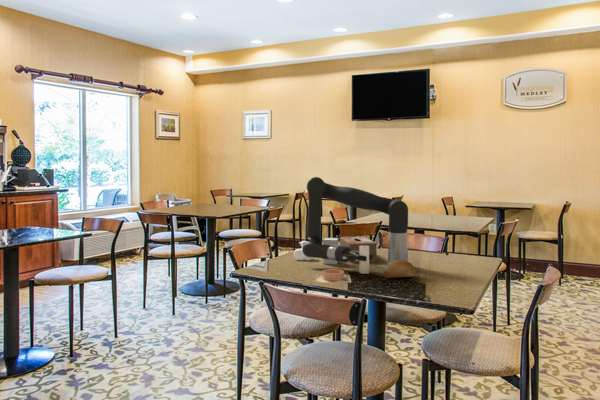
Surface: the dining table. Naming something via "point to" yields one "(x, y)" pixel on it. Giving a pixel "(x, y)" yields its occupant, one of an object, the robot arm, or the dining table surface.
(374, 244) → the tissue box cover
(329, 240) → the supplement box
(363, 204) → the robot arm
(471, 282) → the dining table surface
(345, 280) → the birch board
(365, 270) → the cream candle
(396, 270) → the bread roll
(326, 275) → the terracotta dish
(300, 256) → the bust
